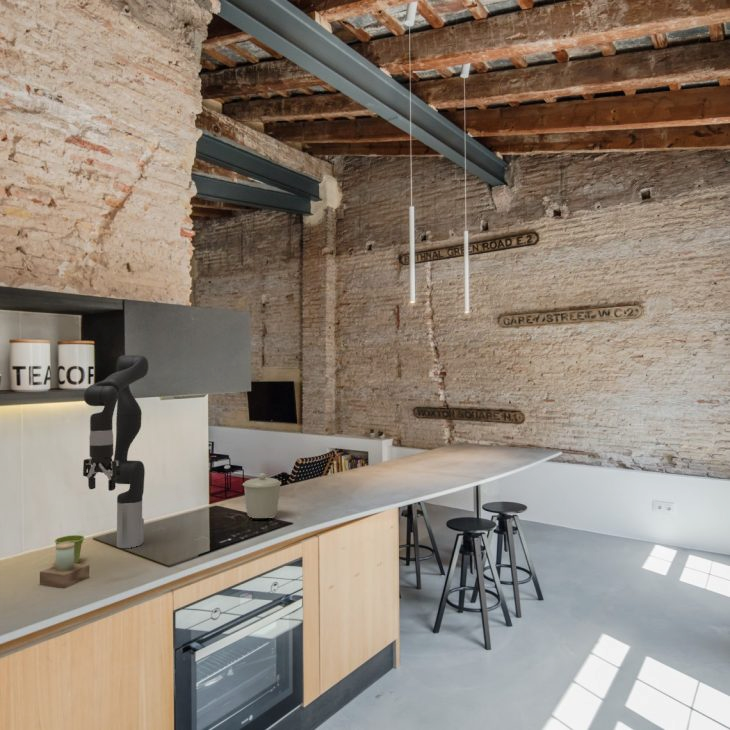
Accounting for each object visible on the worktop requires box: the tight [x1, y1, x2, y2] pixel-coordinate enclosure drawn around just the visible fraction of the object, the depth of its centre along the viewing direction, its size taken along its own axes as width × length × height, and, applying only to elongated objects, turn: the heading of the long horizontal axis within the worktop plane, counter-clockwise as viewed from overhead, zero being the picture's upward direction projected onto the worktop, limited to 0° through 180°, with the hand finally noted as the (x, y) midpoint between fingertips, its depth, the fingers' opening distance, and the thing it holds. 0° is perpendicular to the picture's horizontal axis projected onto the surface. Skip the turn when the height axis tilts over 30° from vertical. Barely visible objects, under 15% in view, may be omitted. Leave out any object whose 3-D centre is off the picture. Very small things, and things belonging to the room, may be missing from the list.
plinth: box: [39, 563, 90, 589], centre depth 178 cm, size 10×10×4 cm
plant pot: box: [54, 534, 85, 564], centre depth 196 cm, size 9×9×9 cm
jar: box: [55, 542, 75, 571], centre depth 179 cm, size 5×5×8 cm
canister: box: [242, 472, 282, 518], centre depth 259 cm, size 18×18×21 cm
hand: (101, 489), depth 191 cm, fingers open, 8 cm apart
